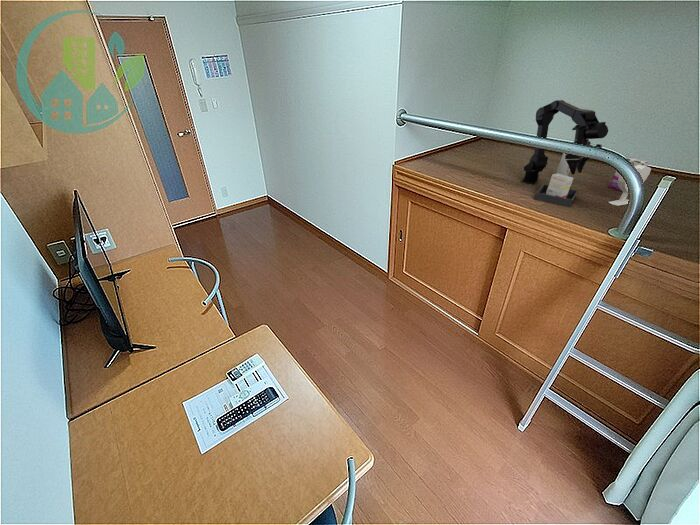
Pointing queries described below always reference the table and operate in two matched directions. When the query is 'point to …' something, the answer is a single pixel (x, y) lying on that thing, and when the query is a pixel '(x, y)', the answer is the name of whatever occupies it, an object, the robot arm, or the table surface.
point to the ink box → (559, 185)
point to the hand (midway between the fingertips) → (576, 173)
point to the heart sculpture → (622, 184)
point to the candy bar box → (616, 176)
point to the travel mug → (563, 166)
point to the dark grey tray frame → (555, 199)
